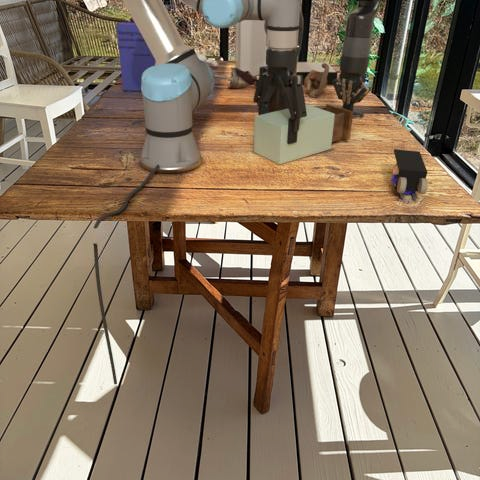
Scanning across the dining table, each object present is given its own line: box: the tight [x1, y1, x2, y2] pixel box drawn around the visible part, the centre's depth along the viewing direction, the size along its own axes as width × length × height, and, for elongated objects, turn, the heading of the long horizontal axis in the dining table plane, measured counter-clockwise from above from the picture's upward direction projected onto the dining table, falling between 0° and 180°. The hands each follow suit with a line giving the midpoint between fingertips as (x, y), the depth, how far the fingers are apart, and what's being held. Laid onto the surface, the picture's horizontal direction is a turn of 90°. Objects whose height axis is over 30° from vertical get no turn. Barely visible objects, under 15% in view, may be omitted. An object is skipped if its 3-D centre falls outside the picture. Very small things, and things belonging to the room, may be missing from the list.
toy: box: [195, 51, 219, 68], centre depth 223 cm, size 24×25×7 cm
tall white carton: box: [234, 20, 268, 77], centre depth 210 cm, size 19×15×28 cm
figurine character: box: [391, 148, 429, 201], centre depth 109 cm, size 7×8×15 cm
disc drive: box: [296, 61, 338, 86], centre depth 207 cm, size 18×22×5 cm
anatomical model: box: [303, 63, 329, 98], centre depth 183 cm, size 13×9×15 cm
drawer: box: [318, 103, 365, 143], centre depth 135 cm, size 23×10×8 cm, turn 126°
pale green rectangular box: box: [253, 103, 335, 165], centre depth 129 cm, size 19×11×10 cm, turn 126°
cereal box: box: [115, 21, 156, 92], centre depth 181 cm, size 17×5×24 cm, turn 86°
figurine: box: [213, 66, 259, 89], centre depth 190 cm, size 24×8×30 cm
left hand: (277, 136), depth 126 cm, fingers closed on pale green rectangular box, 11 cm apart
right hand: (346, 116), depth 139 cm, fingers closed
